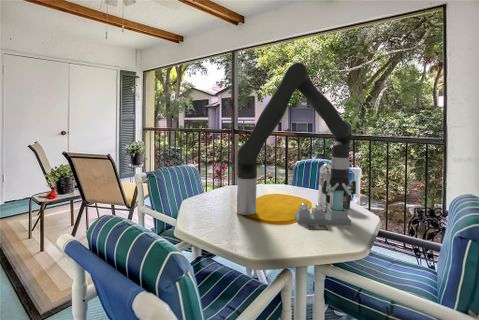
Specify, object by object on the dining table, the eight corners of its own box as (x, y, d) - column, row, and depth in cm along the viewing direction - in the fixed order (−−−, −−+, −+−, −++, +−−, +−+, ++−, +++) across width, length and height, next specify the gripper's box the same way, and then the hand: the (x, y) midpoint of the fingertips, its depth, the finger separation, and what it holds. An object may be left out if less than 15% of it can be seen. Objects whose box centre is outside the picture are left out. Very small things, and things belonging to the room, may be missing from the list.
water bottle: (332, 212, 146) (335, 162, 142) (317, 211, 147) (320, 161, 144) (331, 208, 153) (333, 160, 149) (317, 207, 154) (319, 159, 150)
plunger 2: (315, 216, 132) (316, 205, 131) (314, 214, 135) (314, 203, 134) (322, 216, 132) (322, 205, 131) (320, 214, 135) (321, 203, 134)
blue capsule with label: (333, 218, 132) (334, 189, 130) (330, 215, 136) (332, 187, 135) (343, 218, 132) (345, 189, 130) (340, 215, 136) (342, 187, 134)
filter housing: (297, 223, 131) (298, 211, 130) (294, 216, 140) (295, 205, 139) (351, 225, 130) (351, 212, 129) (344, 217, 139) (345, 206, 138)
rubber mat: (308, 229, 124) (308, 228, 124) (306, 225, 129) (306, 224, 129) (328, 230, 124) (328, 229, 124) (325, 225, 129) (325, 224, 129)
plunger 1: (300, 215, 132) (301, 204, 132) (299, 213, 135) (300, 203, 134) (307, 216, 132) (307, 205, 131) (306, 213, 135) (306, 203, 134)
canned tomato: (341, 204, 160) (343, 184, 158) (353, 208, 153) (354, 187, 151) (330, 206, 156) (331, 185, 155) (341, 210, 149) (342, 189, 148)
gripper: (353, 165, 135) (351, 200, 137) (321, 165, 135) (319, 200, 137) (359, 168, 127) (357, 205, 130) (325, 168, 128) (323, 205, 130)
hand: (337, 203), depth 134 cm, fingers open, 8 cm apart
